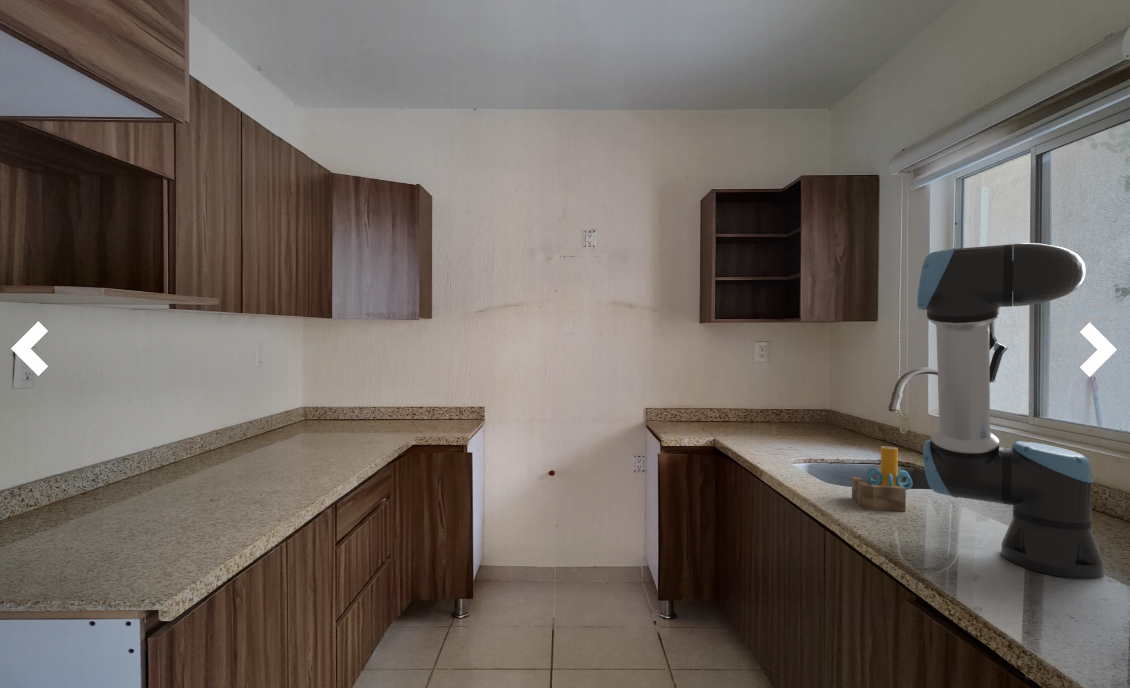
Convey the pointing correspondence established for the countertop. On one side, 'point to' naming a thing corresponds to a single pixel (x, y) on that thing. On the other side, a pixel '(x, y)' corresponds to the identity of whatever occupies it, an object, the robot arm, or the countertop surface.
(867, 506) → the v block
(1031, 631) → the countertop surface
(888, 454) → the yellow and blue tube
